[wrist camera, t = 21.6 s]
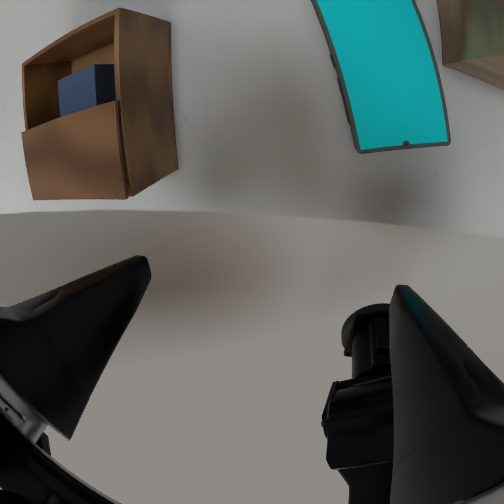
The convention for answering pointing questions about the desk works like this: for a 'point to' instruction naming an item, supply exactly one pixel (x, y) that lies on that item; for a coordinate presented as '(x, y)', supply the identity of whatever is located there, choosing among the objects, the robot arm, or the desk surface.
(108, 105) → the flap
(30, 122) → the carton
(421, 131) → the smartphone
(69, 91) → the block
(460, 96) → the desk surface
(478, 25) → the brown rectangular block
